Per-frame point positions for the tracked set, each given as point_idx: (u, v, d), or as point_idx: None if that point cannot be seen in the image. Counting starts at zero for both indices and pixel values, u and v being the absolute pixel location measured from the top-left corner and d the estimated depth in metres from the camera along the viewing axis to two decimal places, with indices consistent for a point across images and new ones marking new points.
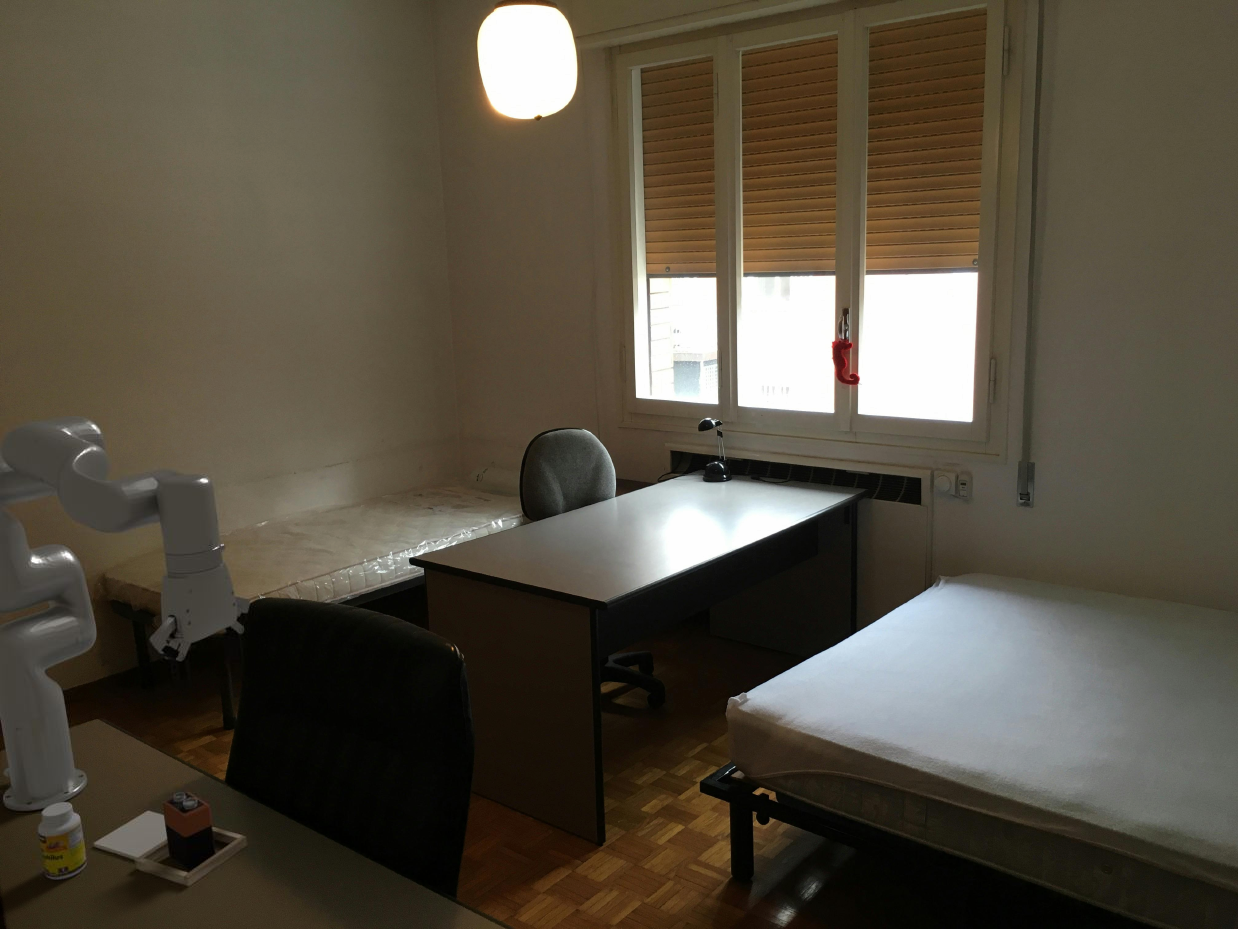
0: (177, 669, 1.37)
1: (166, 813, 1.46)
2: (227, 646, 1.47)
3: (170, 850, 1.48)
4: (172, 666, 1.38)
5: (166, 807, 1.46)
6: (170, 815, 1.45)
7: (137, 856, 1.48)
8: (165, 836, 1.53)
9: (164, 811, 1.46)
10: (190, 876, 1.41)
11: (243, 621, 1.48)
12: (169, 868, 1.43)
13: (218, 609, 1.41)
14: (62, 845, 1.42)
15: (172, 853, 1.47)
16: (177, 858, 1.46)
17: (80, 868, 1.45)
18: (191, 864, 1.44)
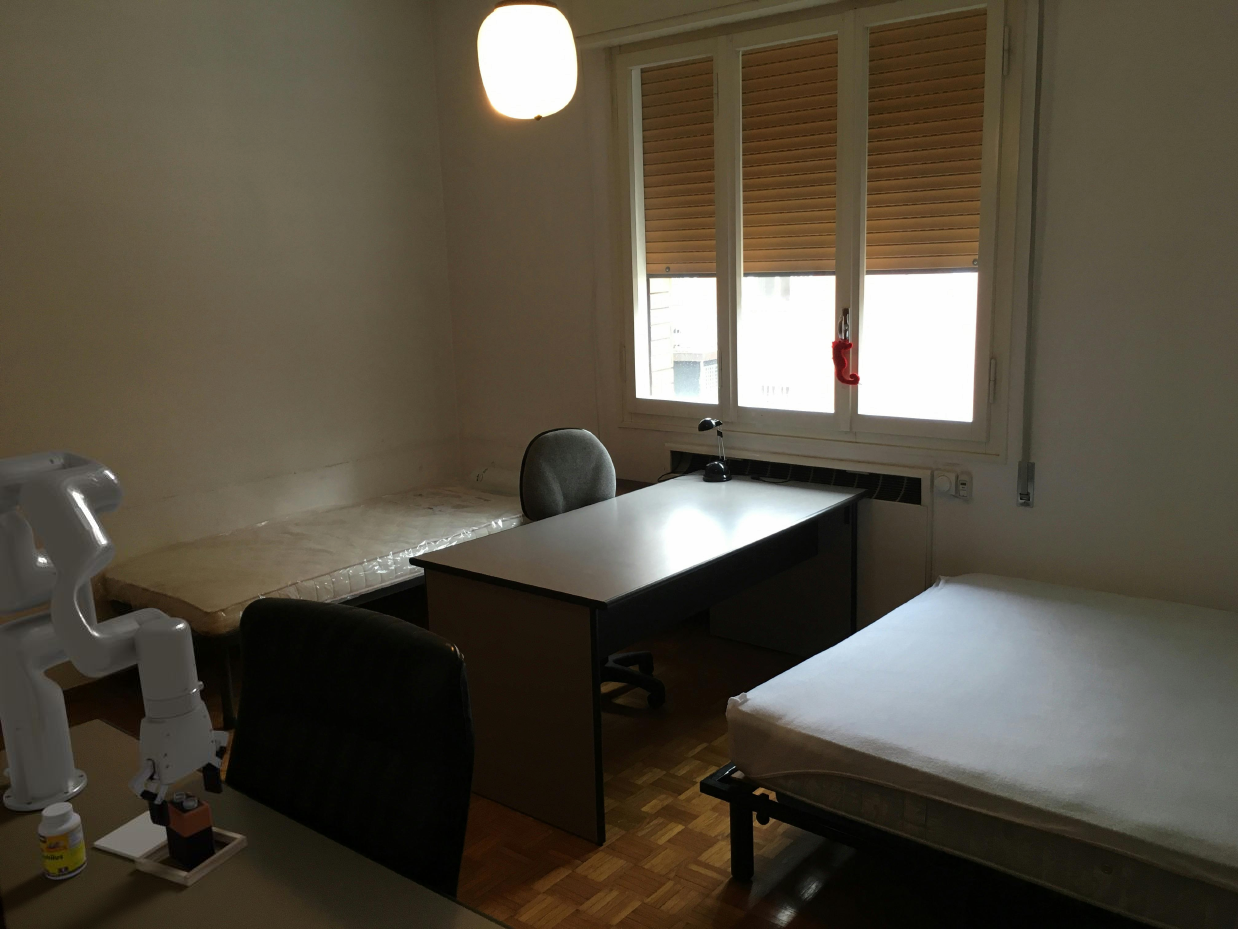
0: (155, 811, 1.40)
1: None
2: (206, 780, 1.50)
3: (170, 850, 1.48)
4: (151, 808, 1.40)
5: None
6: (170, 814, 1.45)
7: (137, 856, 1.48)
8: (165, 836, 1.53)
9: None
10: (190, 876, 1.41)
11: (222, 754, 1.51)
12: (169, 868, 1.43)
13: (196, 749, 1.44)
14: (62, 845, 1.42)
15: (172, 853, 1.47)
16: (177, 858, 1.46)
17: (80, 868, 1.45)
18: (191, 864, 1.44)
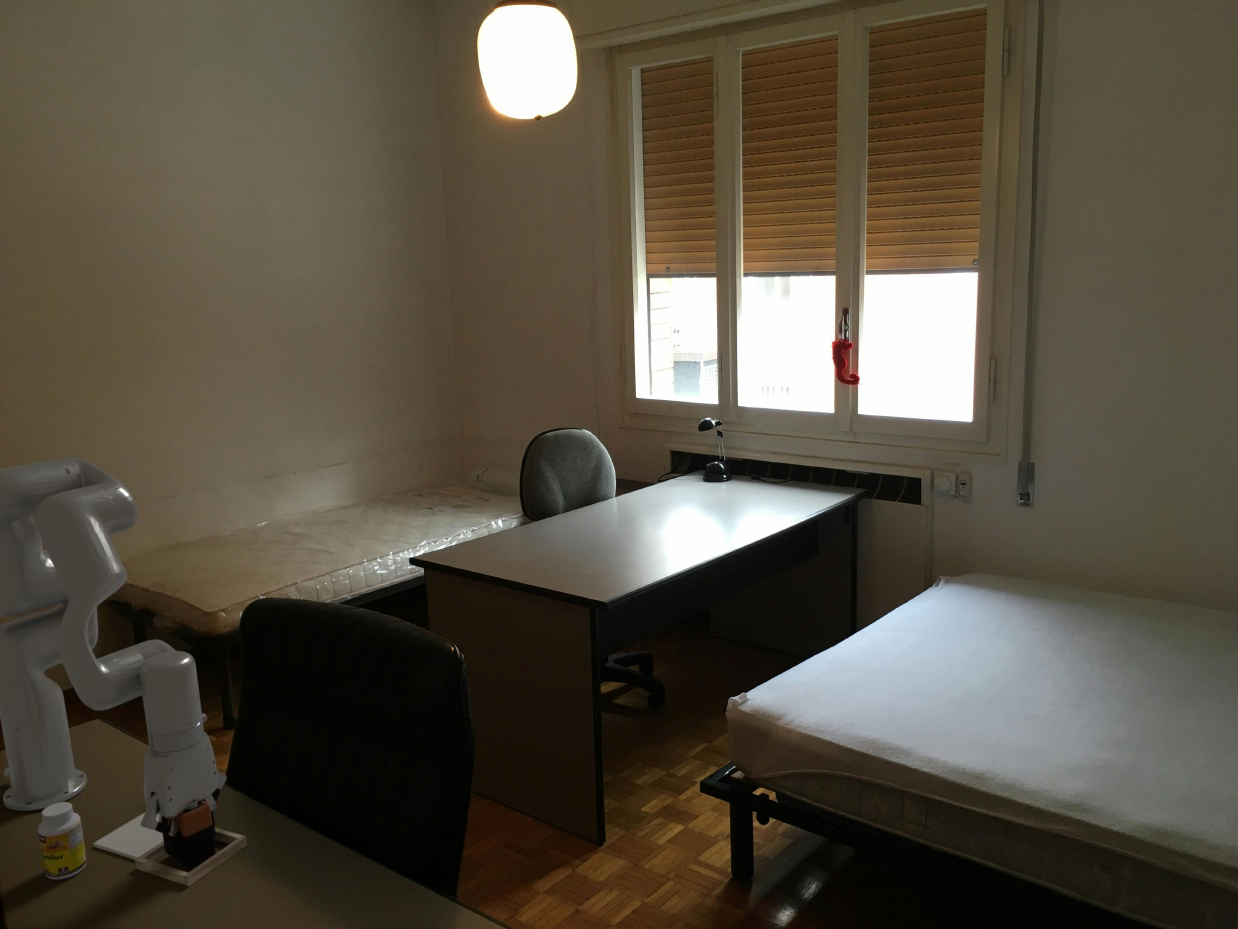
0: (170, 843, 1.43)
1: None
2: None
3: None
4: (165, 839, 1.44)
5: None
6: None
7: (137, 856, 1.48)
8: None
9: None
10: (190, 876, 1.41)
11: (216, 797, 1.50)
12: (169, 868, 1.43)
13: (199, 781, 1.45)
14: (62, 845, 1.42)
15: None
16: (177, 858, 1.46)
17: (80, 868, 1.45)
18: (191, 864, 1.44)
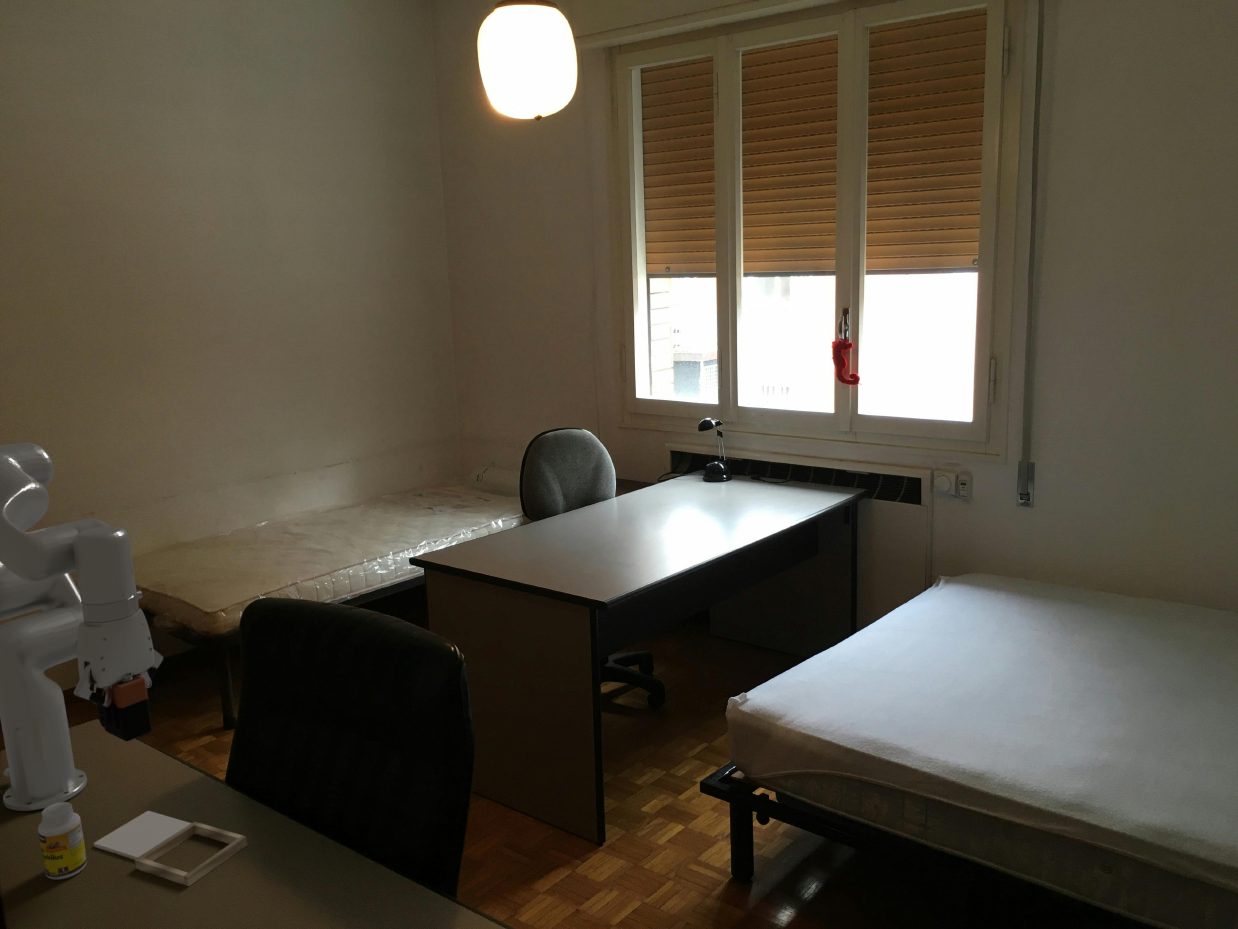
0: (104, 714, 1.46)
1: None
2: None
3: None
4: (100, 710, 1.46)
5: None
6: None
7: (137, 856, 1.48)
8: (165, 836, 1.53)
9: None
10: (190, 876, 1.41)
11: (151, 675, 1.53)
12: (169, 868, 1.43)
13: (133, 655, 1.48)
14: (62, 845, 1.42)
15: (108, 728, 1.49)
16: (113, 732, 1.49)
17: (80, 868, 1.45)
18: (127, 735, 1.47)
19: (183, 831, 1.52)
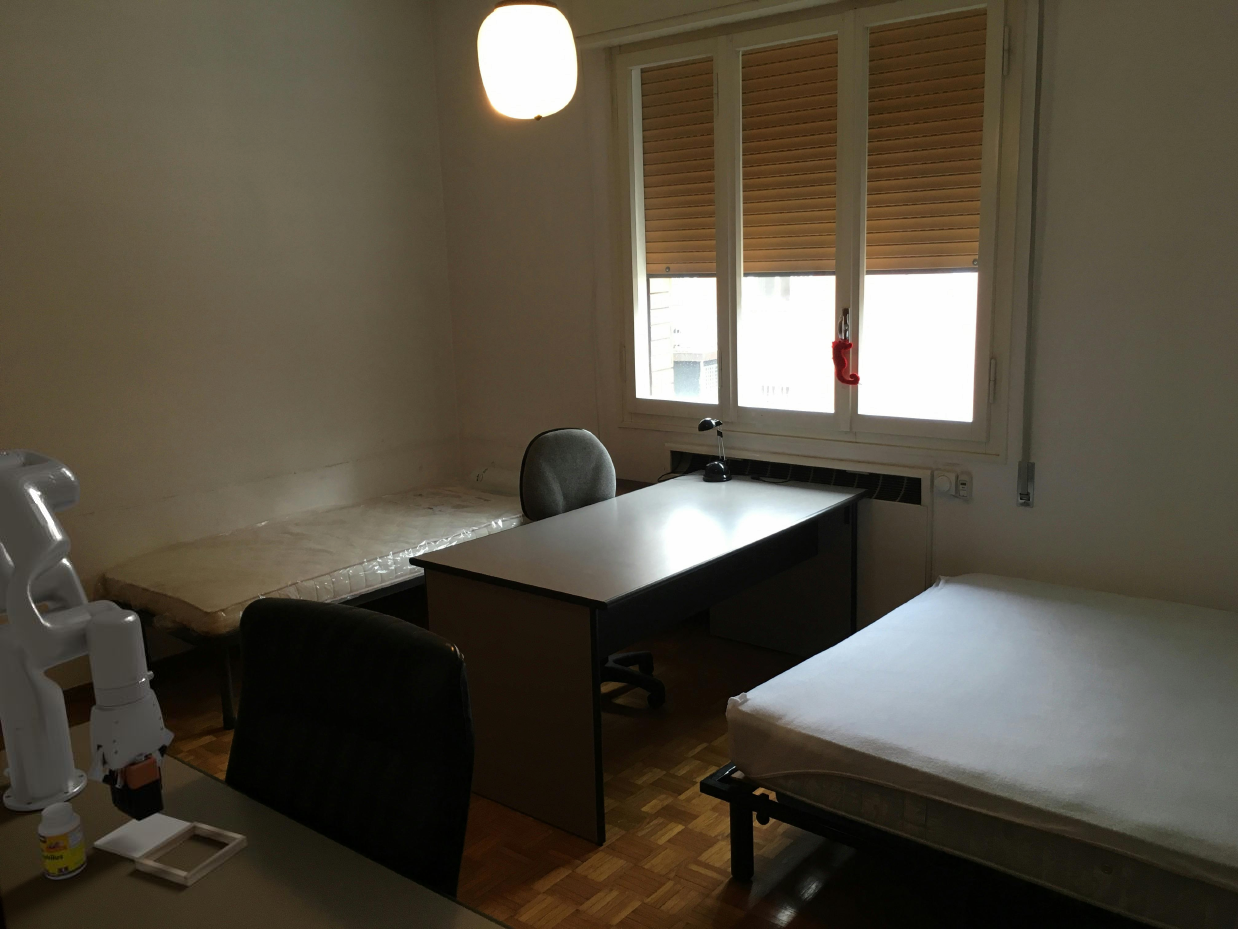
0: (117, 795, 1.48)
1: None
2: None
3: None
4: (112, 791, 1.49)
5: None
6: None
7: (137, 856, 1.48)
8: (165, 836, 1.53)
9: None
10: (190, 876, 1.41)
11: (162, 753, 1.55)
12: (169, 868, 1.43)
13: (145, 735, 1.50)
14: (62, 845, 1.42)
15: None
16: (125, 811, 1.51)
17: (80, 868, 1.45)
18: (139, 815, 1.49)
19: (183, 831, 1.52)
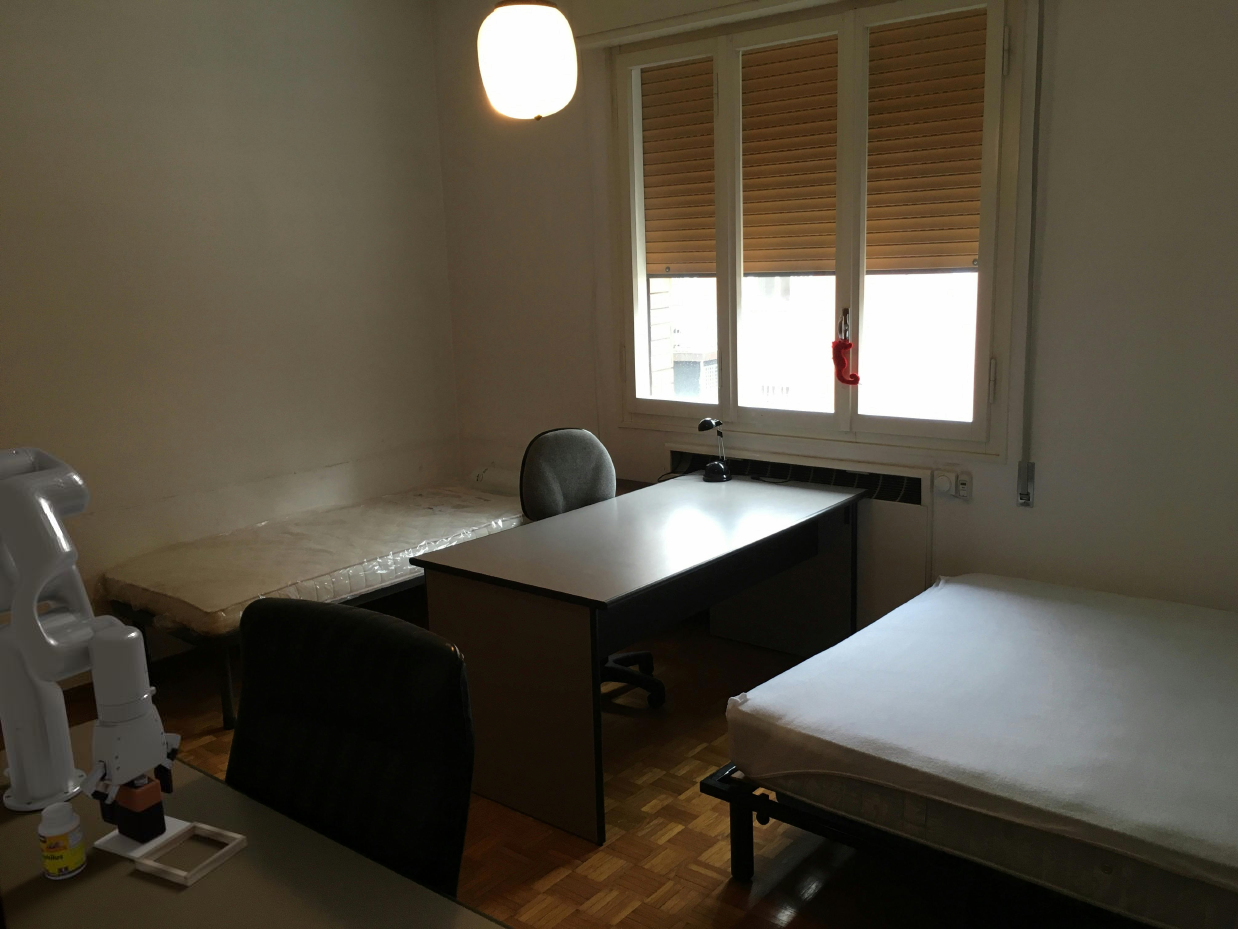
0: (106, 810, 1.47)
1: None
2: None
3: (120, 828, 1.53)
4: (102, 807, 1.47)
5: None
6: (120, 792, 1.51)
7: (137, 856, 1.48)
8: (165, 836, 1.53)
9: None
10: (190, 876, 1.41)
11: (173, 756, 1.57)
12: (169, 868, 1.43)
13: (147, 751, 1.51)
14: (62, 845, 1.42)
15: (122, 830, 1.53)
16: (128, 834, 1.52)
17: (80, 868, 1.45)
18: (143, 838, 1.50)
19: (183, 831, 1.52)
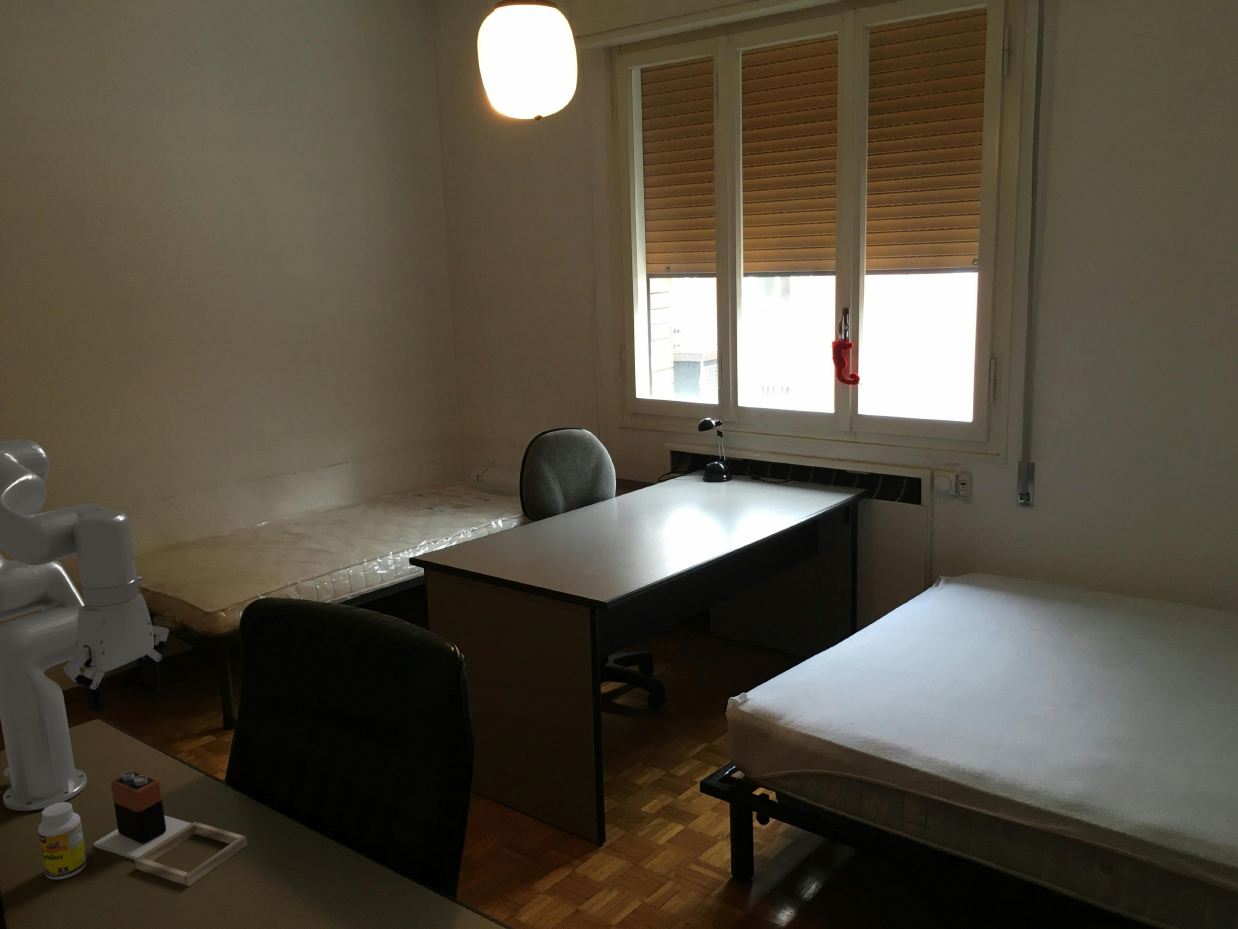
0: (91, 697, 1.44)
1: (116, 791, 1.51)
2: (145, 673, 1.54)
3: (120, 828, 1.53)
4: (86, 693, 1.44)
5: (116, 785, 1.51)
6: (120, 792, 1.51)
7: (137, 856, 1.48)
8: (165, 836, 1.53)
9: (113, 790, 1.52)
10: (190, 876, 1.41)
11: (161, 649, 1.54)
12: (169, 868, 1.43)
13: (133, 639, 1.48)
14: (62, 845, 1.42)
15: (122, 830, 1.53)
16: (128, 834, 1.52)
17: (80, 868, 1.45)
18: (143, 838, 1.50)
19: (183, 831, 1.52)
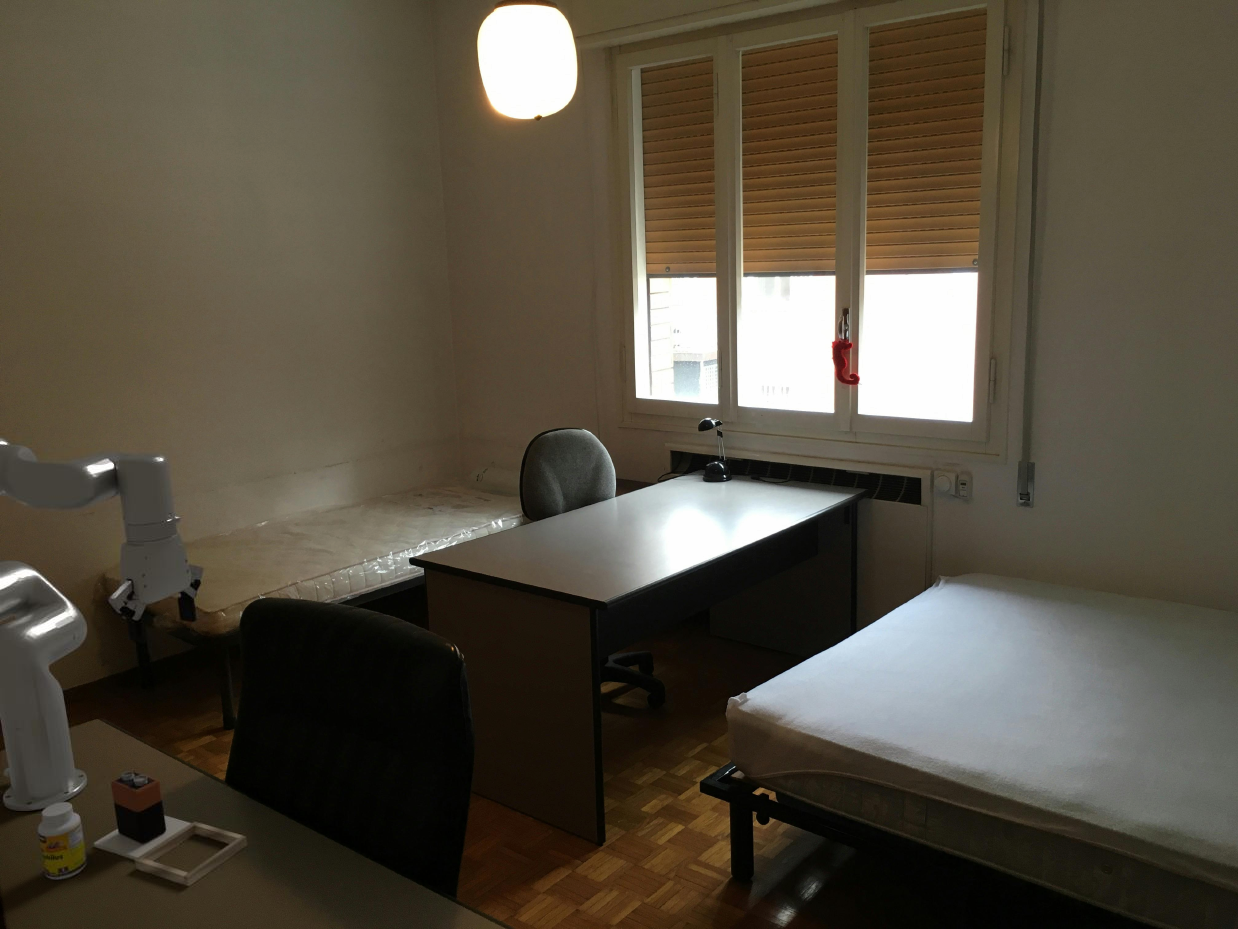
0: (133, 627, 1.53)
1: (116, 791, 1.51)
2: (182, 609, 1.63)
3: (120, 828, 1.53)
4: (129, 624, 1.53)
5: (116, 785, 1.51)
6: (120, 792, 1.51)
7: (137, 856, 1.48)
8: (165, 836, 1.53)
9: (113, 790, 1.52)
10: (190, 876, 1.41)
11: (196, 587, 1.64)
12: (169, 868, 1.43)
13: (172, 575, 1.57)
14: (62, 845, 1.42)
15: (122, 830, 1.53)
16: (128, 834, 1.52)
17: (80, 868, 1.45)
18: (143, 838, 1.50)
19: (183, 831, 1.52)
